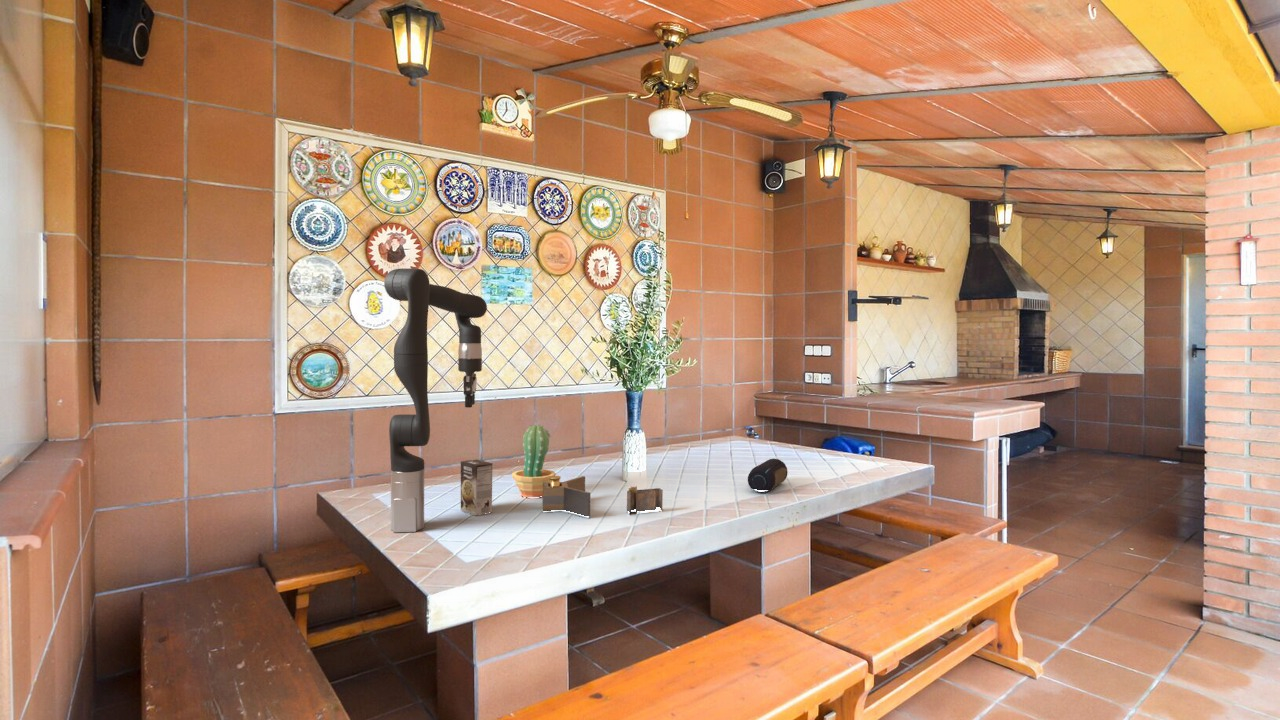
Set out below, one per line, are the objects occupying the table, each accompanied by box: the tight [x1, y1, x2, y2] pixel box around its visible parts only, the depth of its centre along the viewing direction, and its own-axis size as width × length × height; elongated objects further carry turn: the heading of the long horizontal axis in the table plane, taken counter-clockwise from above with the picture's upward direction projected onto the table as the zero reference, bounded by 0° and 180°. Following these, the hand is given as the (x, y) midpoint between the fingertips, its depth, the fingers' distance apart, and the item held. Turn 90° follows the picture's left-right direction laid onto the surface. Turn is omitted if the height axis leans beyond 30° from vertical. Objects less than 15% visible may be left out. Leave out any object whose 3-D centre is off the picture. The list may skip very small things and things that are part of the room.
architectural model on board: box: [626, 485, 664, 512], centre depth 213 cm, size 11×3×10 cm, turn 112°
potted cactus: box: [511, 424, 557, 498], centre depth 233 cm, size 15×15×25 cm
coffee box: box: [460, 459, 494, 516], centre depth 211 cm, size 9×6×16 cm
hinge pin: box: [549, 475, 562, 486], centre depth 216 cm, size 4×4×11 cm
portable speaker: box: [747, 458, 788, 491], centre depth 250 cm, size 25×10×10 cm, turn 152°
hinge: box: [541, 475, 591, 517], centre depth 216 cm, size 25×15×8 cm, turn 9°
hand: (469, 405), depth 218 cm, fingers open, 8 cm apart
